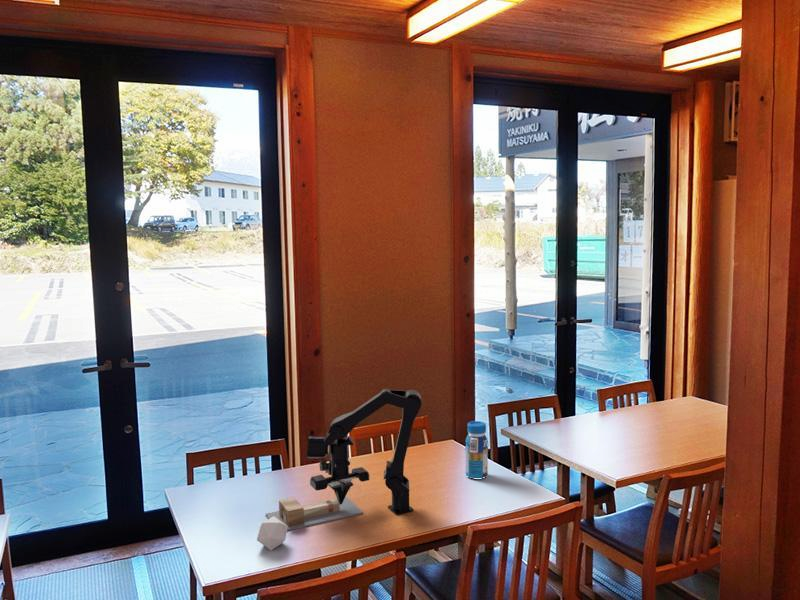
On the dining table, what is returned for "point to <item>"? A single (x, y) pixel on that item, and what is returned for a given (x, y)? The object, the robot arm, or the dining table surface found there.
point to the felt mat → (324, 515)
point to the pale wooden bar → (319, 509)
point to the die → (272, 533)
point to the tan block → (291, 511)
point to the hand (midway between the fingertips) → (340, 503)
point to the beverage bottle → (476, 450)
